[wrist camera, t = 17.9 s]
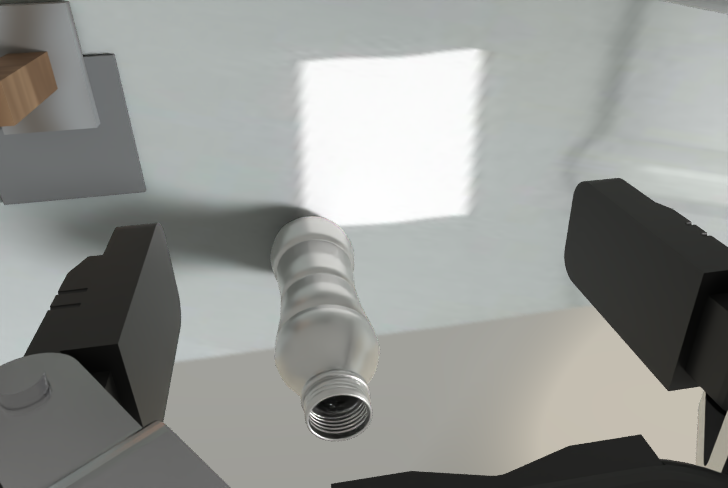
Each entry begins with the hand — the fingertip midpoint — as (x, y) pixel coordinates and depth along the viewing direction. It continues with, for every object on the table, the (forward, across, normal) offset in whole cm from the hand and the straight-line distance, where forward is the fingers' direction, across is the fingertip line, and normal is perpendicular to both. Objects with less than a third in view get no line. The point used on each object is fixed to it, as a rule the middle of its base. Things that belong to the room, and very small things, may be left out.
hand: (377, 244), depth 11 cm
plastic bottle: (+33, 0, +18) cm, 38 cm away
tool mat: (+33, +17, +7) cm, 38 cm away
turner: (+33, +17, +2) cm, 37 cm away
